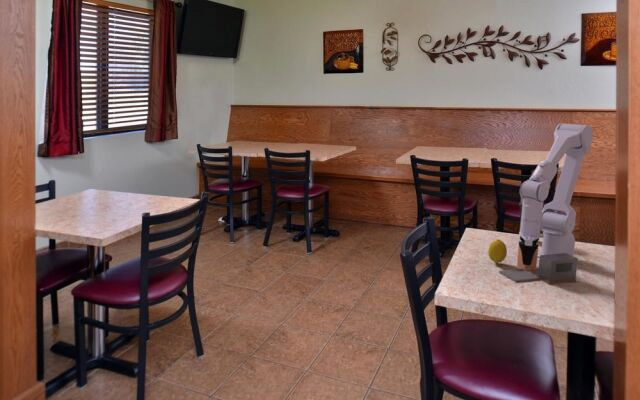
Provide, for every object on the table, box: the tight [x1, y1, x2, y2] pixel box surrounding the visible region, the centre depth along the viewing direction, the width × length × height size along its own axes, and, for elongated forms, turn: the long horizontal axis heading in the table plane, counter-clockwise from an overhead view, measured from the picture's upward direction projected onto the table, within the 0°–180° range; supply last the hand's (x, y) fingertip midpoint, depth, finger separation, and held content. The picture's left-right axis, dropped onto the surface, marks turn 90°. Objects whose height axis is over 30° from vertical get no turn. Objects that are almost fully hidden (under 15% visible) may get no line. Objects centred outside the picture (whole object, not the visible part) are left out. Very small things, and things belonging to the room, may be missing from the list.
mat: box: [498, 268, 540, 283], centre depth 152 cm, size 8×8×1 cm
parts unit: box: [536, 253, 579, 285], centre depth 149 cm, size 9×6×7 cm, turn 105°
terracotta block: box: [516, 245, 539, 271], centre depth 159 cm, size 4×4×7 cm
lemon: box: [487, 239, 508, 264], centre depth 162 cm, size 6×6×8 cm
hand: (527, 261), depth 159 cm, fingers closed on terracotta block, 6 cm apart
